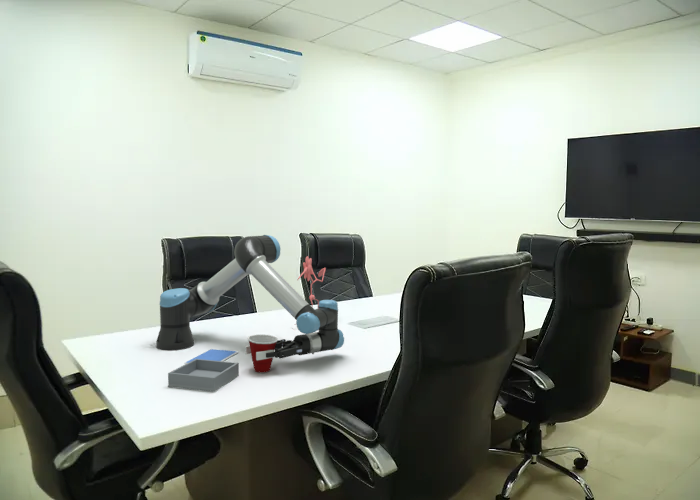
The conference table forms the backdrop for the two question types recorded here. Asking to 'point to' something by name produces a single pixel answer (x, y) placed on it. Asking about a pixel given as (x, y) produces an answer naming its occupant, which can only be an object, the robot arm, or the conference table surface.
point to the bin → (203, 375)
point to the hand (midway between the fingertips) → (251, 353)
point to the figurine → (308, 272)
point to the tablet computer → (215, 355)
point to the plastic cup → (258, 345)
